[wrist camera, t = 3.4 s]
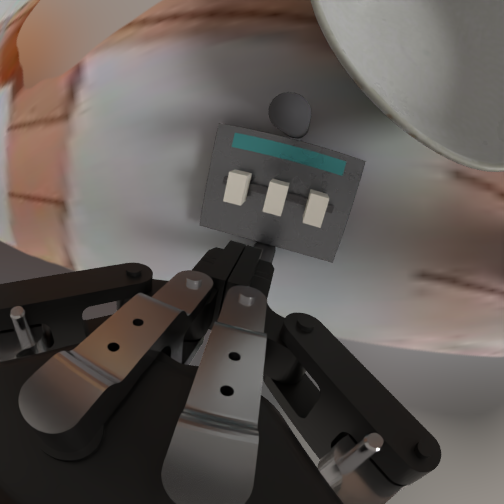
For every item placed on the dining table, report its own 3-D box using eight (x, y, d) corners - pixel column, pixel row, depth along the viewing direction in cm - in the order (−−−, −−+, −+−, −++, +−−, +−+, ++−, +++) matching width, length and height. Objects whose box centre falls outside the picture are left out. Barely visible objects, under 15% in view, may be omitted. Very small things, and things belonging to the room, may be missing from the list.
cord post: (277, 242, 33) (259, 306, 21) (272, 261, 34) (252, 331, 22) (256, 236, 34) (226, 296, 21) (252, 255, 35) (220, 321, 22)
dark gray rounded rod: (310, 119, 27) (315, 98, 14) (304, 140, 28) (305, 137, 16) (287, 113, 27) (273, 88, 15) (282, 134, 28) (264, 126, 16)
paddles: (327, 194, 27) (329, 198, 25) (319, 220, 28) (320, 227, 26) (235, 169, 28) (229, 171, 26) (229, 196, 29) (223, 201, 27)
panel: (361, 160, 28) (367, 161, 25) (331, 255, 33) (333, 265, 30) (224, 124, 29) (216, 122, 27) (205, 220, 34) (197, 227, 31)
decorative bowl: (324, 158, 29) (337, 167, 18) (291, -32, 19) (281, -88, 8) (506, 166, 23) (564, 184, 12) (471, -5, 13) (509, -33, 2)
